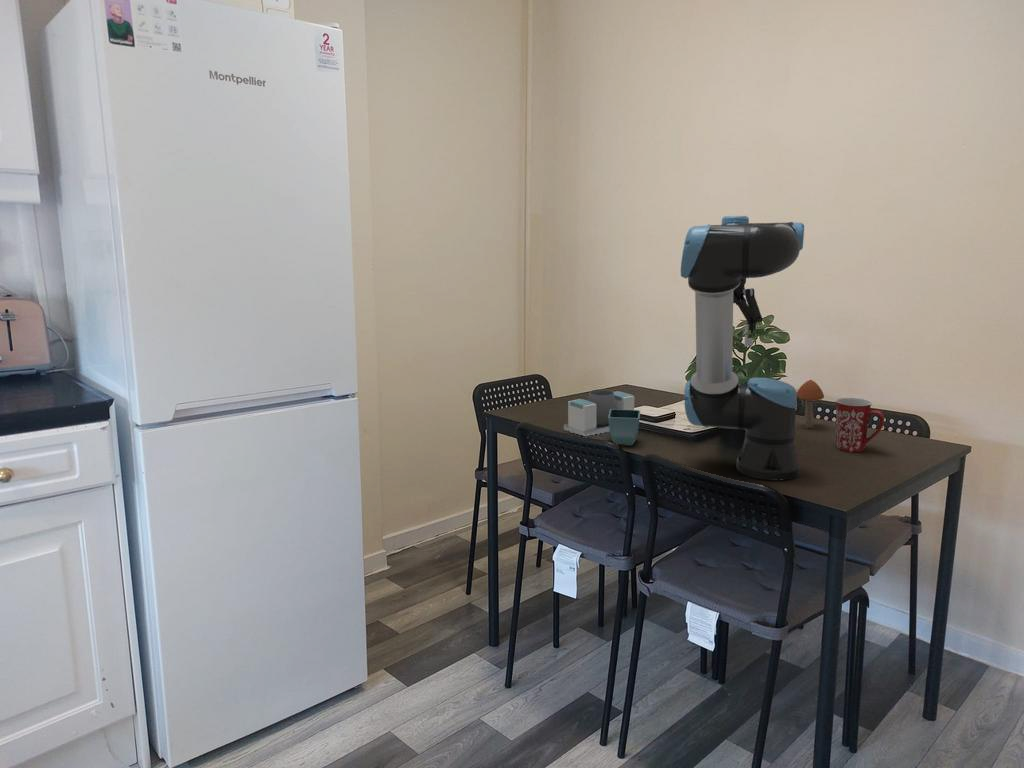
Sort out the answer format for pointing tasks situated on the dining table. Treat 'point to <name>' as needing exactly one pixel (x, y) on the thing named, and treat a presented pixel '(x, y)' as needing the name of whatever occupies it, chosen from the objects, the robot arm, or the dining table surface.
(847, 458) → the dining table surface
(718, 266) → the robot arm
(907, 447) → the dining table surface
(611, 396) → the cup
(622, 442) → the flower pot
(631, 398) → the block
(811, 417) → the mushroom
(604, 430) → the grey flat slab
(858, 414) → the mug
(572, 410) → the block
